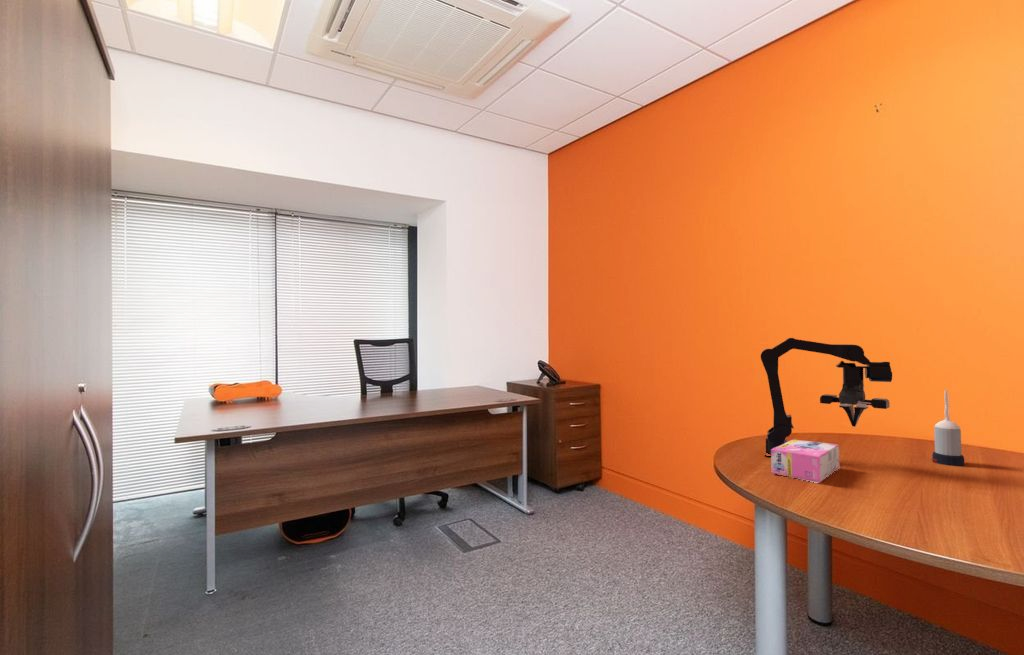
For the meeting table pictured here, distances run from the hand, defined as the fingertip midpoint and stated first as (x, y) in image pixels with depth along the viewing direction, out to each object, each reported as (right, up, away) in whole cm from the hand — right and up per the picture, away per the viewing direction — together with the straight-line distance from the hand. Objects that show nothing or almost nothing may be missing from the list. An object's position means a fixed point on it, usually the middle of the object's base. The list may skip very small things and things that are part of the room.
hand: (854, 426), depth 161 cm
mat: (-21, -13, -9) cm, 26 cm away
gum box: (-17, -8, -14) cm, 24 cm away
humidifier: (+33, -13, +1) cm, 36 cm away
